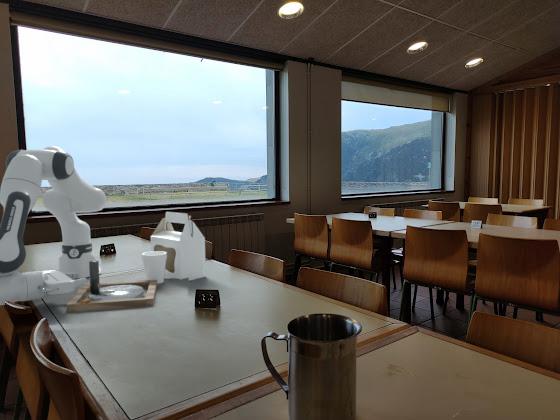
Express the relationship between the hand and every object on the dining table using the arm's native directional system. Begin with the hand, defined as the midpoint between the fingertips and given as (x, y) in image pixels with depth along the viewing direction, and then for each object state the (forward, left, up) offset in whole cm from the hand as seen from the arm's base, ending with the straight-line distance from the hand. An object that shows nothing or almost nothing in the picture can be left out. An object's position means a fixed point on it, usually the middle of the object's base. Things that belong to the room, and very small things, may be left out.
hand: (82, 277), depth 140 cm
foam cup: (-20, +23, -10) cm, 32 cm away
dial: (-1, +11, -8) cm, 13 cm away
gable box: (-34, +32, -10) cm, 48 cm away
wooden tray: (-1, +11, -9) cm, 14 cm away
